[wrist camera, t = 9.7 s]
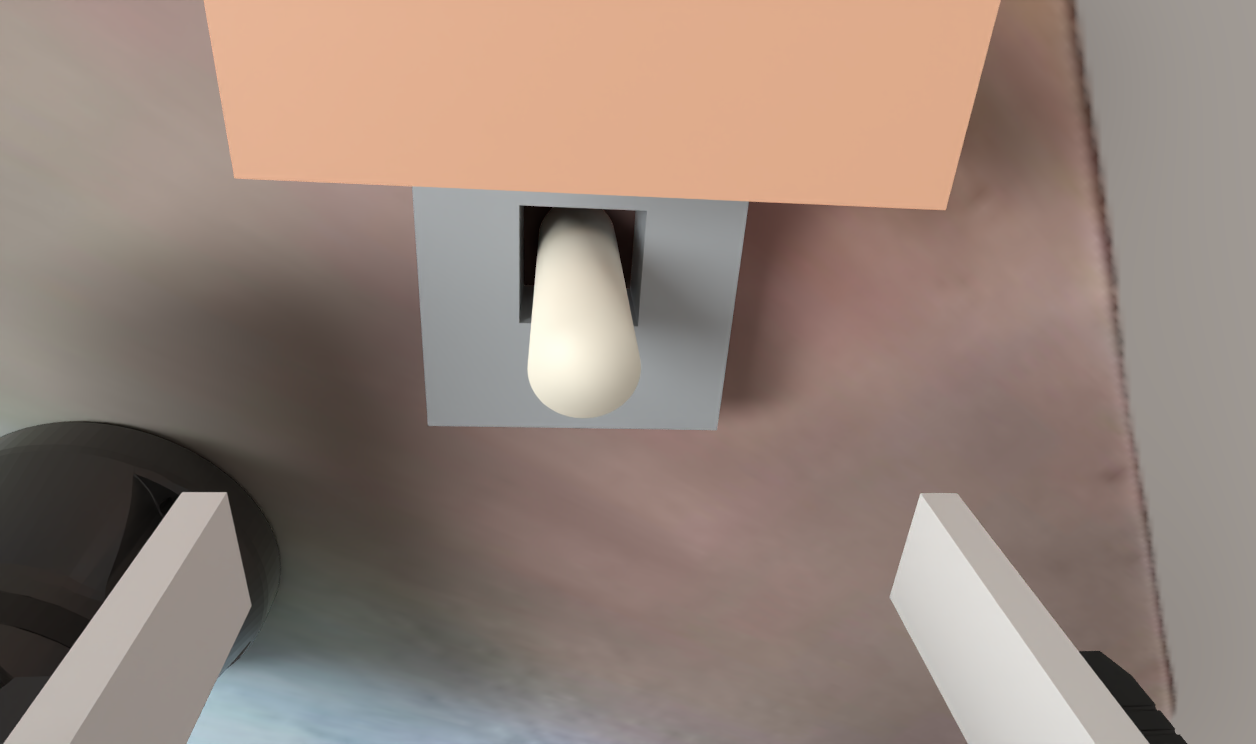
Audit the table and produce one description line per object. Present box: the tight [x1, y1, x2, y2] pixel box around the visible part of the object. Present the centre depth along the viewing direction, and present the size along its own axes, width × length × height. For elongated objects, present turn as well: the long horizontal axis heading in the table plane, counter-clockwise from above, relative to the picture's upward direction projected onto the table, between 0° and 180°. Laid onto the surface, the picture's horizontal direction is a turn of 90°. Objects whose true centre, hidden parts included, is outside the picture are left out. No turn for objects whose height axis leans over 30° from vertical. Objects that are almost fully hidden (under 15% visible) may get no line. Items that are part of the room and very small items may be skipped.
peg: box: [527, 207, 641, 418], centre depth 27 cm, size 3×3×12 cm
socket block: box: [412, 186, 749, 430], centre depth 30 cm, size 12×16×4 cm
